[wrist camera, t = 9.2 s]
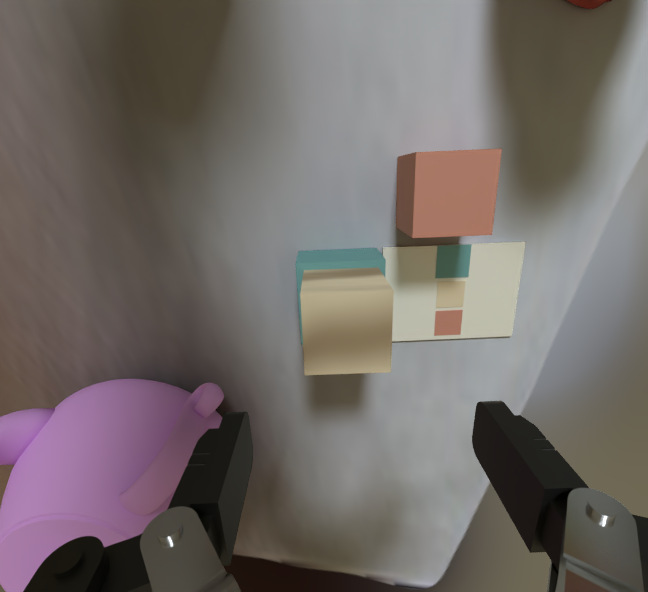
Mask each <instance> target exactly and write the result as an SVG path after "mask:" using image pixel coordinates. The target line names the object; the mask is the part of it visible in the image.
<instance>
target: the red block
mask: <svg viewBox="0 0 648 592" xmlns="http://www.w3.org/2000/svg"><path fill="white" fill-rule="evenodd" d="M501 152H502V149H482V150H458V151H435V152H415V153H411V154H407V155H403V156H399V157H398V166H397V204H396V228H398V229H399V230H401V231H402V232H404V233H405V234H407V235H408V236H410V237H411V238H429V237H452V236H475V235H492V230H493V221H494V213H495V204H496V195H497V187H498V178H499V170H500V161H501Z"/></svg>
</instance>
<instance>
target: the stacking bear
mask: <svg viewBox="0 0 648 592" xmlns="http://www.w3.org/2000/svg"><path fill="white" fill-rule="evenodd" d="M567 1H568V2H570V3H572V4H575V5H577V6H580V7H583V8H588V9H594V8H597V7H599V6H600V5H601V4H603V3H604V2H608V1H611V0H567Z"/></svg>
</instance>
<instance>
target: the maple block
mask: <svg viewBox="0 0 648 592" xmlns="http://www.w3.org/2000/svg"><path fill="white" fill-rule="evenodd" d="M393 295H394V290H393V289H392V287H391V286H390V284H389V283H388V281H387V280H386V278H385V277H384V275H383V274H382V272H381V271H380V269H379V268H378V267H375V268H347V269H319V270H304V272H303V279H302V285H301V292H300V300H301V317H302V334H303V352H304V369H305V375H328V374H355V373H383V372H391V353H392V324H393Z"/></svg>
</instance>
